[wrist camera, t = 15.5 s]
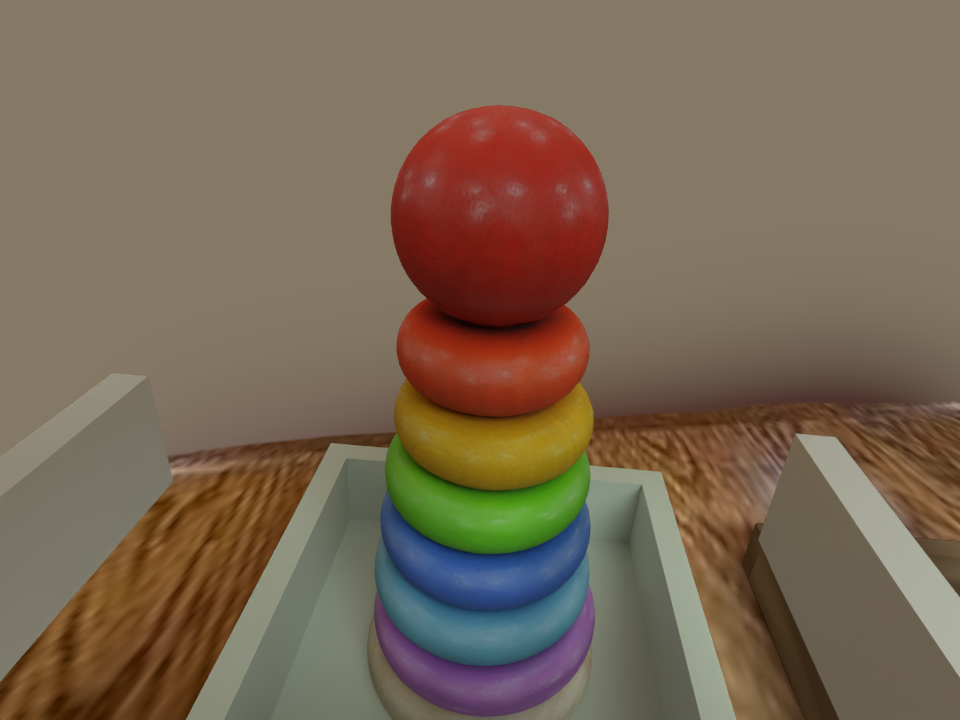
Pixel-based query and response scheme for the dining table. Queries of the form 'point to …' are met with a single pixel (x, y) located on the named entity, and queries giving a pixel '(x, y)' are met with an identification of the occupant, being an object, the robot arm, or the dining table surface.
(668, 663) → the sage tray
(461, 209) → the stacking toy
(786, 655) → the walnut holder
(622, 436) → the dining table surface
